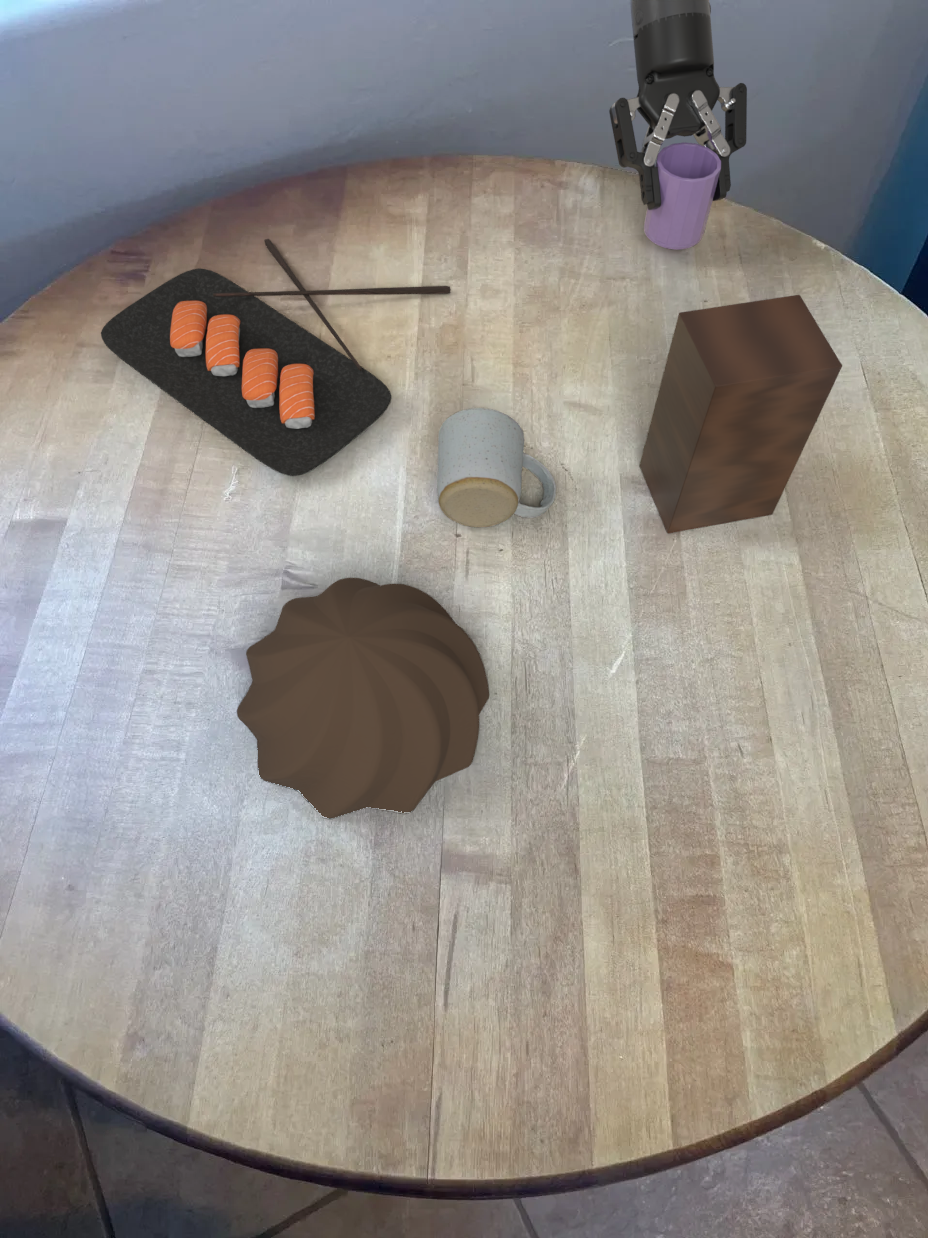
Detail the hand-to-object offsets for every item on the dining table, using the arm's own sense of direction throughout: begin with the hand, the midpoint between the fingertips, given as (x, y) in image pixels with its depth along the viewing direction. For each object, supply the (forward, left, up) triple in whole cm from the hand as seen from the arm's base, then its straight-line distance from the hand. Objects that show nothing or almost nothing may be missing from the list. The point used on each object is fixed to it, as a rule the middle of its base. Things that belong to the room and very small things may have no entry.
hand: (686, 203), depth 99 cm
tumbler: (0, -2, -4) cm, 5 cm away
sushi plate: (+41, +4, -7) cm, 42 cm away
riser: (+8, +31, -7) cm, 33 cm away
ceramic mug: (+27, +28, -7) cm, 39 cm away
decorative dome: (+42, +46, -7) cm, 62 cm away
